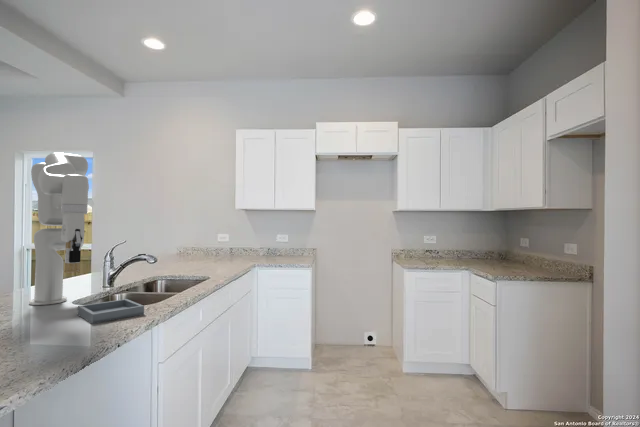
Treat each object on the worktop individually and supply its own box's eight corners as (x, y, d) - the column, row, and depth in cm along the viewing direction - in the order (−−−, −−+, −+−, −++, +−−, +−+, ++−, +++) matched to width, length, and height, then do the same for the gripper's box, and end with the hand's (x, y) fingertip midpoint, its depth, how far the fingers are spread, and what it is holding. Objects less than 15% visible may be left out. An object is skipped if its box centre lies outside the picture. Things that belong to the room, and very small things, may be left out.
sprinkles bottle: (69, 271, 123) (70, 233, 123) (82, 271, 123) (84, 233, 124) (60, 273, 118) (62, 234, 119) (74, 273, 119) (76, 234, 119)
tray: (77, 314, 129) (77, 306, 129) (126, 306, 142) (126, 298, 142) (92, 323, 118) (92, 314, 118) (143, 314, 131) (144, 305, 131)
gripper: (55, 209, 124) (53, 260, 124) (67, 209, 113) (65, 265, 113) (80, 210, 130) (78, 258, 129) (94, 210, 119) (92, 263, 118)
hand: (72, 261), depth 121 cm, fingers closed on sprinkles bottle, 4 cm apart
